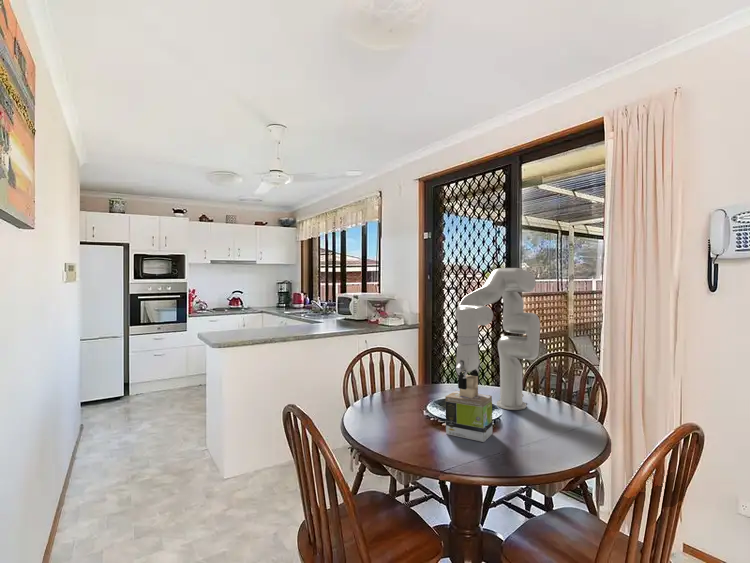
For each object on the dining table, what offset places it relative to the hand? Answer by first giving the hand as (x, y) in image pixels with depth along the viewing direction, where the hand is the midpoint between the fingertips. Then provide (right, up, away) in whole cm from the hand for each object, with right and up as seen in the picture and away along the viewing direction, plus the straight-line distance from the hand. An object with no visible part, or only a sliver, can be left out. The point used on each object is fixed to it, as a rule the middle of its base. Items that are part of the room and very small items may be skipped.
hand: (468, 385), depth 159 cm
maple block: (0, -4, 0) cm, 4 cm away
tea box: (0, -19, 0) cm, 19 cm away
